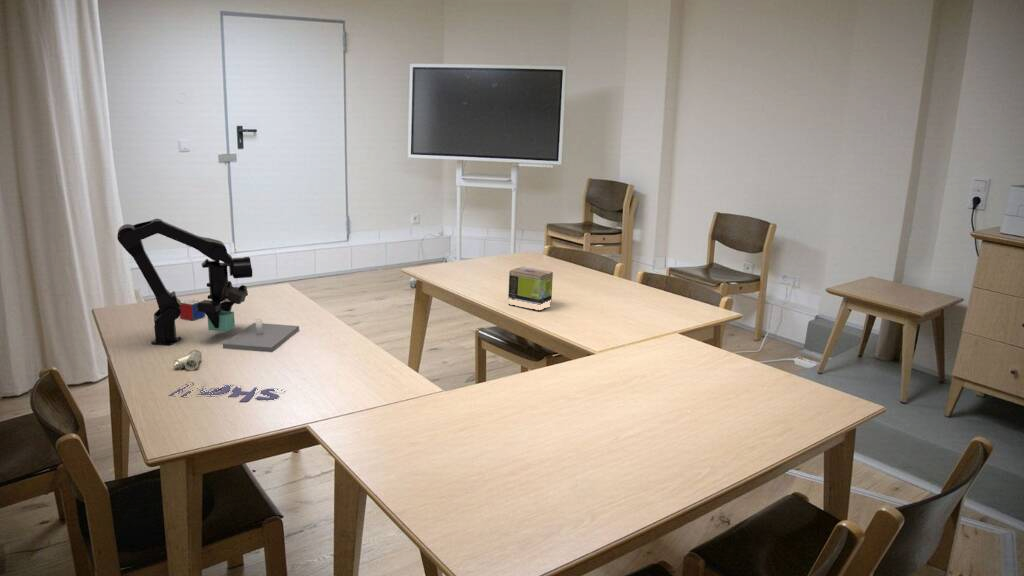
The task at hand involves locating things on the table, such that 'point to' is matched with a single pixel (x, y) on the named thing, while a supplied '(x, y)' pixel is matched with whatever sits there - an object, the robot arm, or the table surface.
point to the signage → (235, 393)
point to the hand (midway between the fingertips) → (221, 325)
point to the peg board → (261, 337)
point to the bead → (223, 322)
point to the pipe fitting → (188, 360)
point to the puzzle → (190, 310)
